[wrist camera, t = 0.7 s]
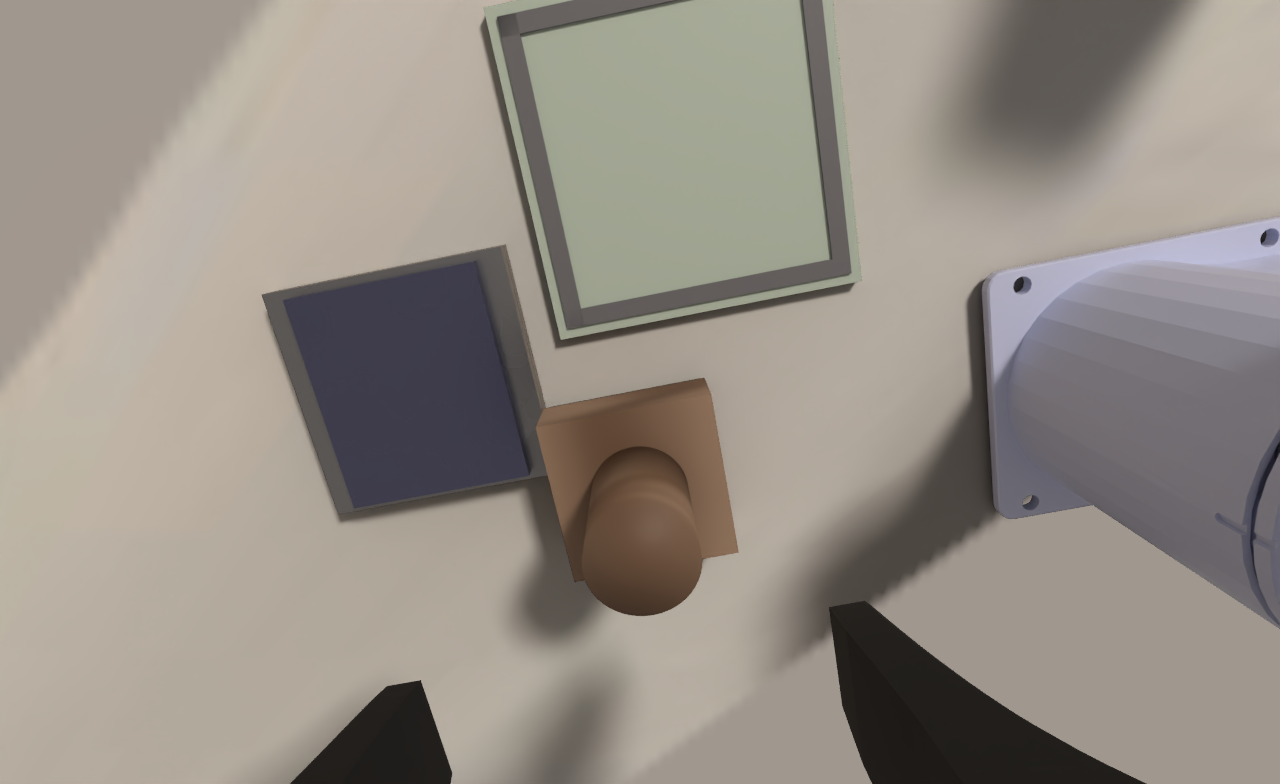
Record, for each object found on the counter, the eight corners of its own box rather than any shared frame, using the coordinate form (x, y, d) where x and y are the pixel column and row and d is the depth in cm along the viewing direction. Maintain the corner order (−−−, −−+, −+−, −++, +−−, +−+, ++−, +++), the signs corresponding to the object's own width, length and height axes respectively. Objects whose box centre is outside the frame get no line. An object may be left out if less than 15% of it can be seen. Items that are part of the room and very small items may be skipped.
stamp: (702, 373, 21) (731, 444, 15) (727, 517, 22) (763, 635, 16) (545, 404, 21) (510, 485, 15) (580, 544, 22) (560, 671, 16)
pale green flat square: (821, -62, 18) (826, -69, 17) (857, 279, 20) (862, 281, 19) (486, 11, 18) (482, 6, 17) (562, 337, 20) (560, 340, 20)
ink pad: (505, 244, 20) (497, 247, 18) (559, 463, 21) (555, 478, 20) (275, 291, 20) (253, 296, 19) (349, 503, 22) (333, 520, 21)
